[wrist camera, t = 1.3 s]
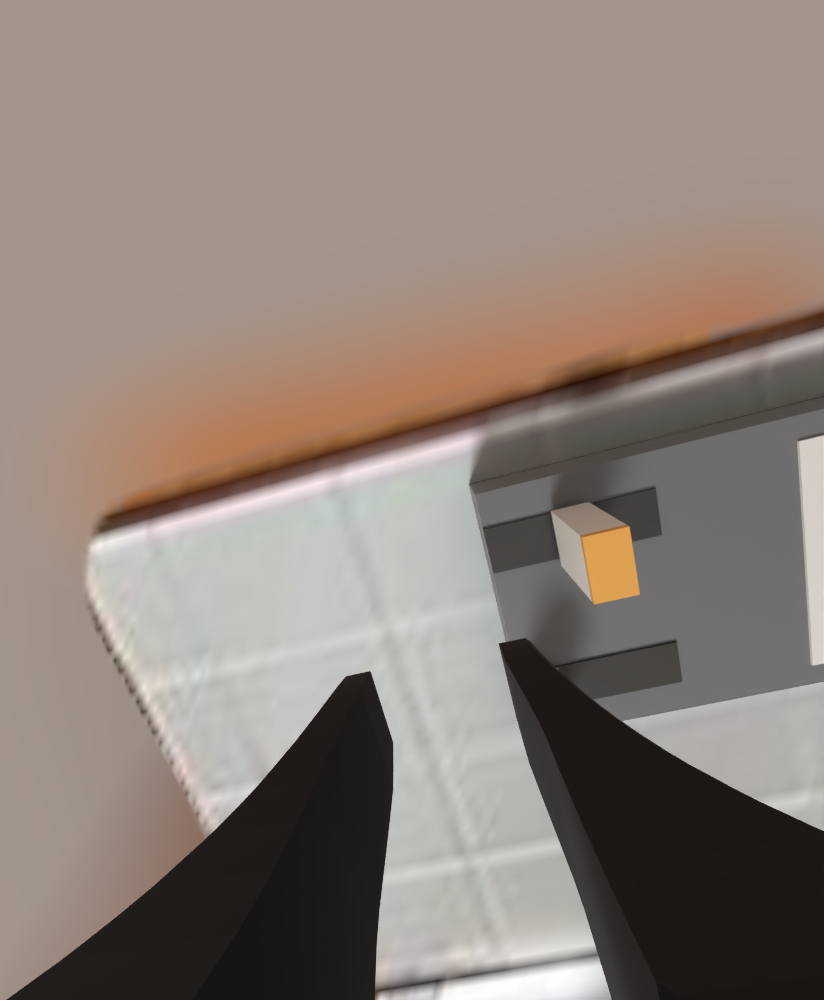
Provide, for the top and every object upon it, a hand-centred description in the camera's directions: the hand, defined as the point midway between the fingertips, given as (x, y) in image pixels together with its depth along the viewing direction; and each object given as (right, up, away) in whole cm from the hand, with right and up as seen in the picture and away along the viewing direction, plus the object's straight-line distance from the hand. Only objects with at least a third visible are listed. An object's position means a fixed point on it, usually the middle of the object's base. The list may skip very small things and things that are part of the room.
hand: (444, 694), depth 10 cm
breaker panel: (+11, +1, +10) cm, 15 cm away
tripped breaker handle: (+6, +3, +7) cm, 10 cm away
